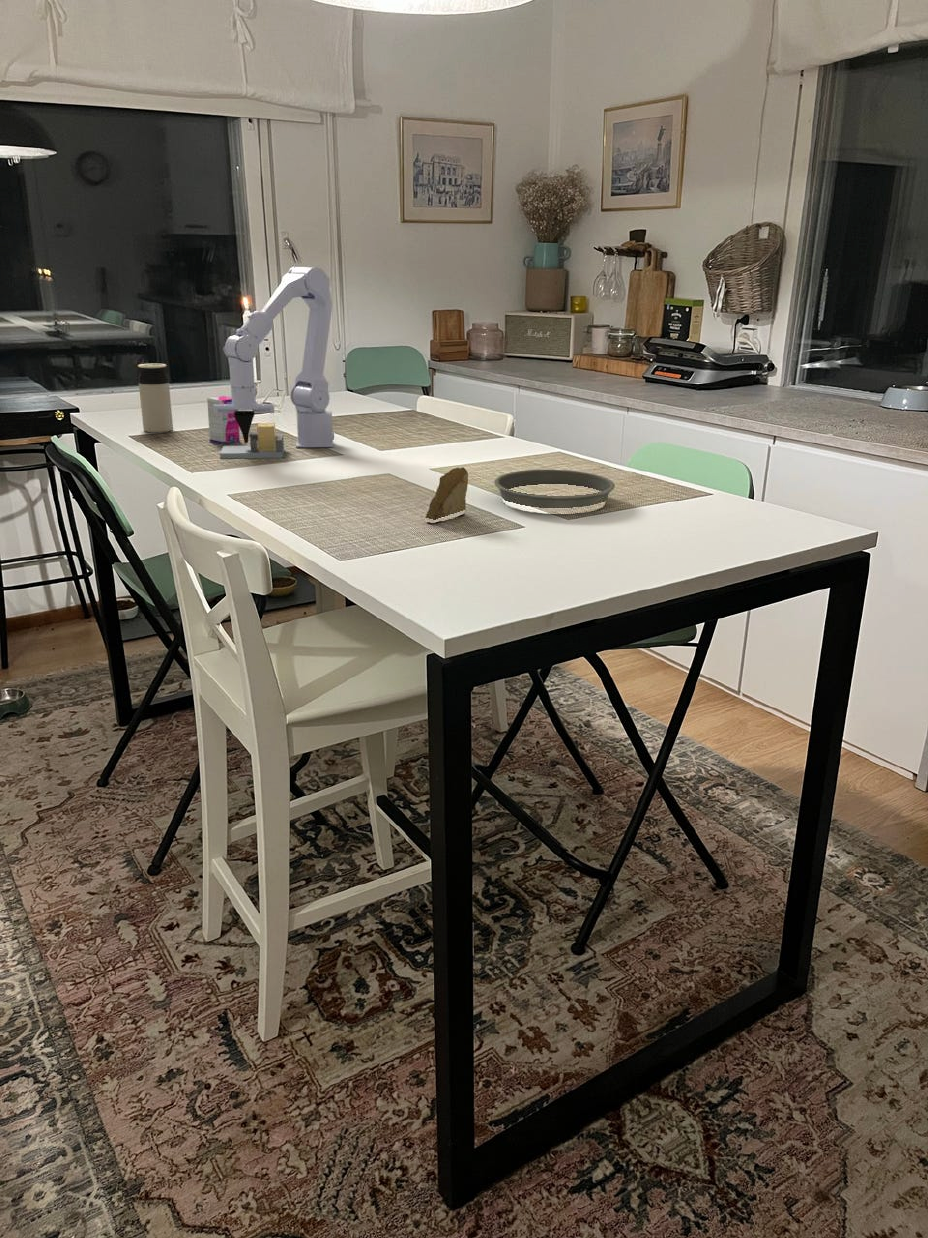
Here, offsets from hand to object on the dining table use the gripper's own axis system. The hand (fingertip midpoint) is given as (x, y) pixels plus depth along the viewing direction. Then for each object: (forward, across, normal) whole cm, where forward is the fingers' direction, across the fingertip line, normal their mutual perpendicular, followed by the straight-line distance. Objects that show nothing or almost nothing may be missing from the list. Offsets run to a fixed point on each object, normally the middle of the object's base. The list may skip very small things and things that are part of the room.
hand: (246, 442), depth 238 cm
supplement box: (+3, -7, +18) cm, 20 cm away
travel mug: (+3, -27, +36) cm, 45 cm away
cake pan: (+3, +66, -55) cm, 86 cm away
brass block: (+2, +5, 0) cm, 5 cm away
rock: (+3, +42, -66) cm, 78 cm away
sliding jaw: (+1, +2, 0) cm, 2 cm away
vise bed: (+3, +1, 0) cm, 3 cm away
